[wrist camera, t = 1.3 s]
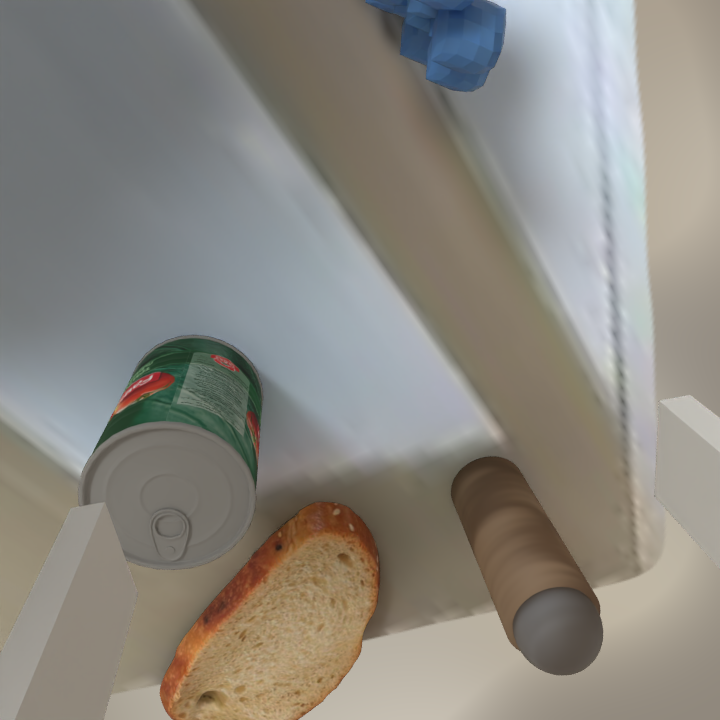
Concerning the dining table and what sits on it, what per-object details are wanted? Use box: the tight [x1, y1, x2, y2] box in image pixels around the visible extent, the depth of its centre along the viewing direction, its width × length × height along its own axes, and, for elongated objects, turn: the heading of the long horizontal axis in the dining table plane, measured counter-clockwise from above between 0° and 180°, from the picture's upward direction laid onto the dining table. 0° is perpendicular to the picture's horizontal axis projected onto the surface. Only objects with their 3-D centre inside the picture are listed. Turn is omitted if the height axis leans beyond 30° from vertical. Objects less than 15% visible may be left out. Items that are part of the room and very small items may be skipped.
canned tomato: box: [78, 335, 263, 570], centre depth 35 cm, size 8×8×11 cm
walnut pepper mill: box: [451, 457, 603, 675], centre depth 38 cm, size 5×5×15 cm
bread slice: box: [160, 502, 380, 720], centre depth 46 cm, size 18×18×4 cm
